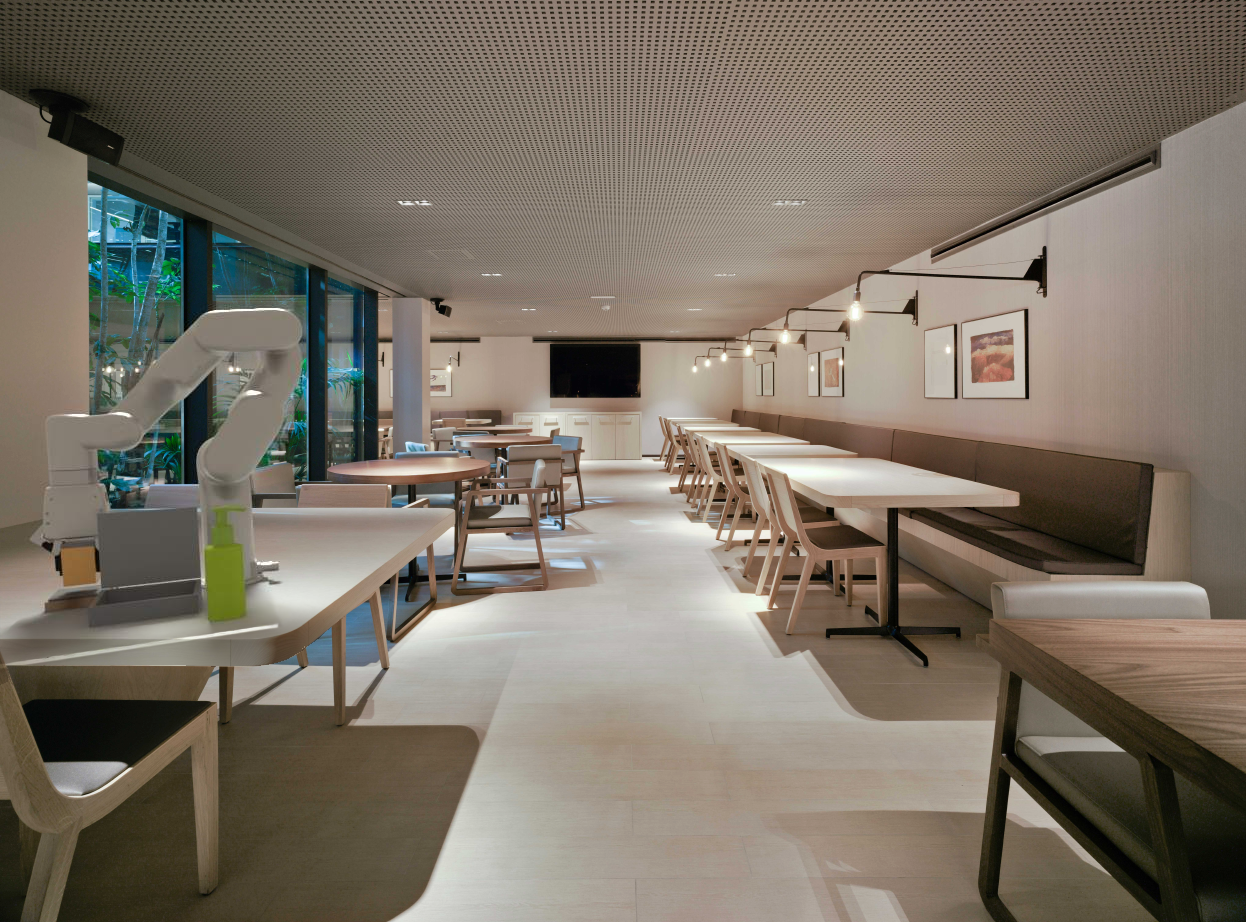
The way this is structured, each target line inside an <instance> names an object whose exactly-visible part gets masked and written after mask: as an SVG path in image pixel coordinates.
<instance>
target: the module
mask: <svg viewBox="0 0 1246 922" xmlns="http://www.w3.org/2000/svg"><path fill="white" fill-rule="evenodd" d="M60 548H61V561H62V574H63V576H62V583H63V588H65V587H73V586H74V587H75V586H82V585H83V586H84V585H92V584H97V583H98V582H99V581H100V580H101V576H100V572H96V560H95V552H96V548H97V547H96V545H95V543H94V540H93V538H92V537H91V538H79V539H67V540H65V542H63V543H62V544H61V545H60Z"/></svg>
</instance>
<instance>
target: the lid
mask: <svg viewBox="0 0 1246 922" xmlns="http://www.w3.org/2000/svg"><path fill="white" fill-rule="evenodd" d="M97 525H98V542H99V559H100V585H101V589H105V588H114V587H118V588H124V587H133V586H142V585H151V584H160V583H169V582H178V581H186V580H195V579H202V569H201V568H202V567H201V553H200V536H199V533H200V532H199V518H198V506H189V507H188V506H187V507H174V508H159V509H148V510H147V509H146V510H134V511H133V510H131V511H120V512H119V511H117V512H115V511H114V512H111V513H101V514H97Z"/></svg>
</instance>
